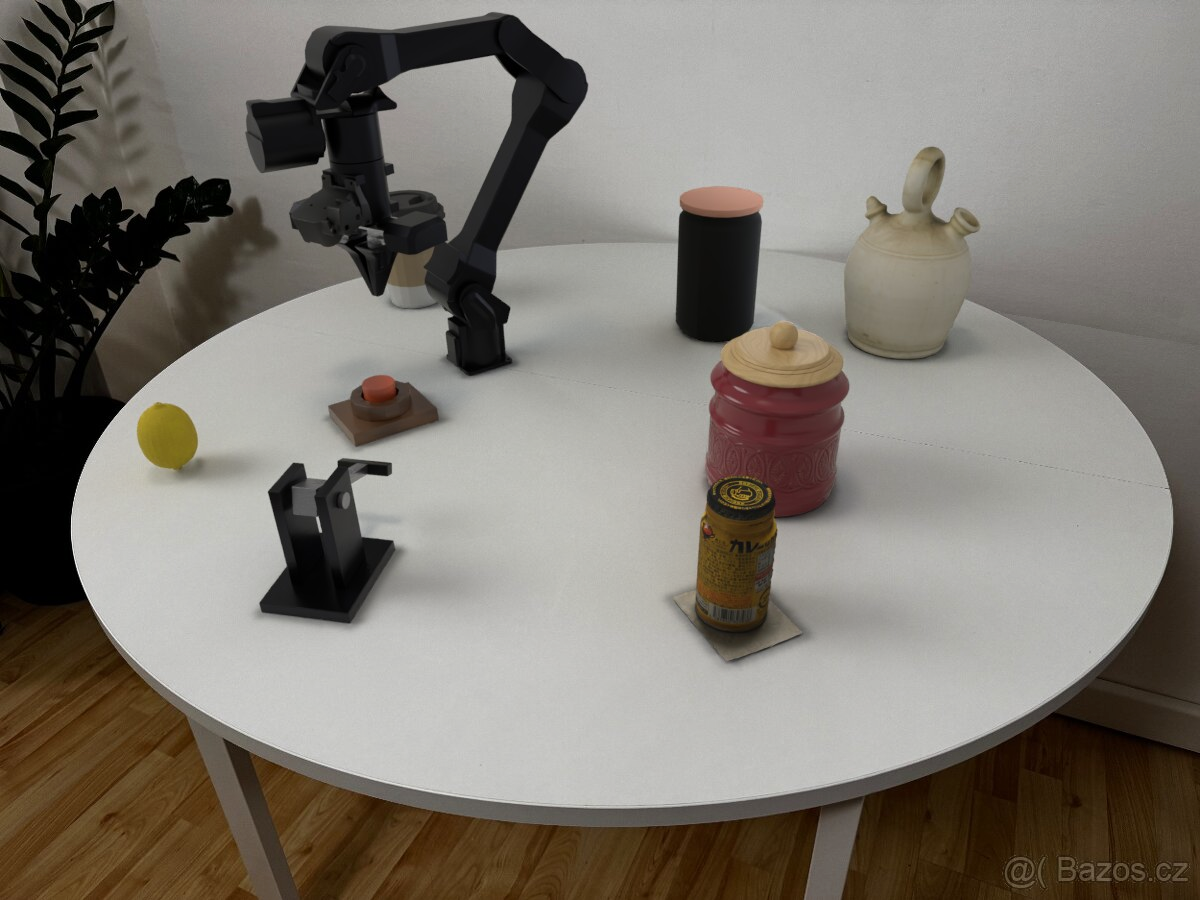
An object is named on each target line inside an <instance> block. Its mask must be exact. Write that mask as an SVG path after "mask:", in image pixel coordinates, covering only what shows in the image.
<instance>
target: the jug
mask: <svg viewBox="0 0 1200 900" xmlns="http://www.w3.org/2000/svg"><path fill="white" fill-rule="evenodd" d="M945 171H946V156H945V153H944V151H943V150H941V149H940V148H939V147H937V146H927V147H924V148H922V149H921V150H920V151H918V153H916V155H915V157H914V158H913V159H912V161H911V163H910V166H909V168H908V169H907V173H906V176H905V179H904V183H903V188H902V193H901V204H902V206H903V209H904V210H903V211H901V212H900V213H890V212H889V211H888V205H887V204H885V203H883V202H881V201H880V200H879V199H878V197H876V196H874V195H871V196H869V197H868V198H867V199H866V202H865V204H866V212H865V214H864V217H865V218H866V219H867V220H868V221H869V224H868V226H867V227H866V228H865V229H864V230H863V232H861V234H860V235H859V236H858V238H857V239H856V240H855V242H854V243H853V245H852V247H851V248H850V251H849V253H848V257H847V258H846V262H845V265H844V269H843V270H844V272H843V288H844V293H843V294H844V307H845V309H844V310H845V311H844V312H845V322H846V328H847V338H848V340H849V341H850V343H851V344H853V346H854V347H856V348H857V349H859V350H861V351H863V352H865V353H868V354H870V355H874V356H879V357H884V358H888V359H896V360H915V359H923V358H928V357H931V356H934V355H935V354H937V353H938V352H940V351H941V350H942V348H943V347H944V345H945V344H944V343H945V342H946V341H947V338H948V336H949V335H950V333H951V330H952V327H953V325H954V323H955V321H956V319H957V317H958V315H959V314H960V311H961V309H962V307H963V305H964V302H965V299H966V297H967V294H968V291H969V288H970V284H971V281H972V275H973V259H972V254H971V251H970V247H969V245H968V243H967V240H966V239H965V237H967V236H969V235H971V234H975V233H978V232H979V231H980V230H981V224H980V221H979V220H978V218H977V217H976V216H975V215H974V214H973V213H972V212H971V211H970V210H968V209H967V208H965V207H955V209H954V210H953V214H952V216H951V217H950V219H949V221H948V222H947V221H946V220H944V219H943V218H941V217H938V216H937V215H935V214H934V212H933V209H932V206H933V204H934V202H935V200H936V199H937V198H938V197H937V196H938V195H939V193H940V189H941V187H942V185H943V184H942V183H943V180H944V176H945Z"/></svg>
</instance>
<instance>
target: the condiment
mask: <svg viewBox="0 0 1200 900" xmlns="http://www.w3.org/2000/svg"><path fill="white" fill-rule="evenodd" d="M775 503H776V499H775V496H774V492H773V490H772V489H771V488H770V487H769V486H768V485H766V484H765V483H763V482H762V481H760V480H757V479H755V478H751V477H746V476H729V477H726V478H722V479H718V480H717V481H716V482H715V483H713V484H712V486H711V487H710V486H709V489H708V491H707V493H706V503H705V508H704V512H703V514H702V516H701V519H700V526H699V535H698V536H699V537H698V538H699V539H698V551H697V569H696V583H695V589H694V590H689V591H686V592H683V593H680V594H677V595H675V596H671V598H672V599H673V600H674V602H675V603H676V604H677V605H678V607H679V608H680V610H682V612H683V613H684V614H685V615H686V617H688V619H689V620H690V621H691V622H692V624H693V625H694V626H695V627H696V628H697V629H698V631H700V632H701V633H702V634H703V635H704V637H705V638H706V640H707V641H708V642H709V643H710V645H711V646H712V647H713V648H714V649H715V650H716V651H717V652H718V653H719V654H720V656H721V657H722V659H724V660H725V662H729V661H731V660H735V659H739V658H742V657H744V656H747V655H750V654H753V653H756V652H759V651H761V650H764V649H766V648H772V647H773V646H775V645H776V644H779V643H781V642H785V641H787V640H791V639H792V638H794V637H796V636H799V635H802V634H803V632H802V631H801V630H800V629H799V628H798V626H797V625H796V624H794V623H793V621H791V619H790V618H789V617H788V616H787V615H786V614H785V613H784V612H783V611H782V609H780V608H779V607H778V606H777V605H775V604H774V603H773V601H771V599H770V596H771V589H772V578H773V573H774V562H775V554H776V548H777V537H778V527H777V522H776V520H775V516H774V515H775V511H774V506H775Z"/></svg>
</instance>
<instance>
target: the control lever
mask: <svg viewBox="0 0 1200 900" xmlns="http://www.w3.org/2000/svg"><path fill="white" fill-rule="evenodd" d="M336 462H337V467H345V468H348V470H349V475H350V480H351V485H352V484H353V483H355V482H357V481H359V480H360V479H362V478H364V477H365V476H369V475H370V476H378V477H379V476H380V477H390V475H392V474H393V463H392V462H388V461H378V460H367V459H357V458H347V457H342V458H340V459H337V461H336ZM326 481H327V479H323V478H311V477H307V479H306V480H304V481H302V482H300V483H298V484H296V485H294V486H292V507H293V514H294V515H303V516H312V517H316V518H319V516H318V512H317V508H316V503H315V499H314V496H315V494H316V493H317V492H318V491H319V489H320V488H321V487H322V486H323V484H324V483H325V482H326Z"/></svg>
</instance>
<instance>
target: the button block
mask: <svg viewBox="0 0 1200 900" xmlns="http://www.w3.org/2000/svg"><path fill="white" fill-rule="evenodd" d="M394 381H395V387H396V396H395V397H394V398H392V399H390V400H387V401H384V402H369V401H366V400H365V399H364V394H363V388H362V384H360V385H359V386H358V387H357V386H356V388H354V389H353V390H351V393H350V397H349V398H348V399H346V400H342V401H339V402H335V403H333V404H328V406H327V409H328V414H329V418H330V419H331V420H332V422H333V423H334V424H335V425H336V426H337V428H338V429H340V431H341V432H342V433H343V434H344V436H345V437H346V438H347V440H349V441H350V443H351V444H352V445H353V446H354V447H355V448H357V447H360V446H363V445H366V444H370V443H371V442H375V441H379V440H382V439H385V438H388V437H391V436H394V435H397V434H400V433H404V432H406V431H410V430H412V429H416V428H419V427H422V426H425V425H429V424H433V423H436V422H439V420H440V419H439V411H438V408H437V407H436V406H435V405H434V404H433V403H432V402H431V401H430V400H428V398H426V396H425V395H423V393H421V391H419V390H418V389H417V388H416V387H414V386H413V384H412V383H410V382H409V381H407V382H403V381H399V380H396V379H394Z"/></svg>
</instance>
